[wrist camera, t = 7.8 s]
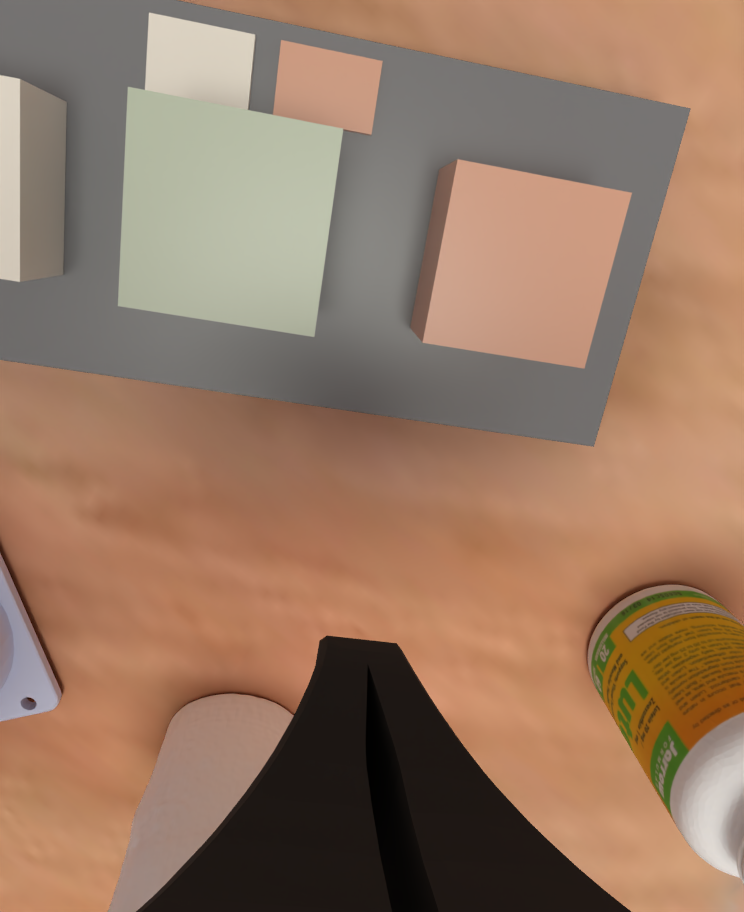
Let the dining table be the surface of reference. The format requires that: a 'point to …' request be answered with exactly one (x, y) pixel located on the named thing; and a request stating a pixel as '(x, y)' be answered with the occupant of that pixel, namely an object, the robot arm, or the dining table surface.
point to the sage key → (225, 212)
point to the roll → (195, 787)
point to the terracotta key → (516, 263)
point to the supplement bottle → (681, 709)
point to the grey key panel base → (353, 213)
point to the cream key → (31, 181)
